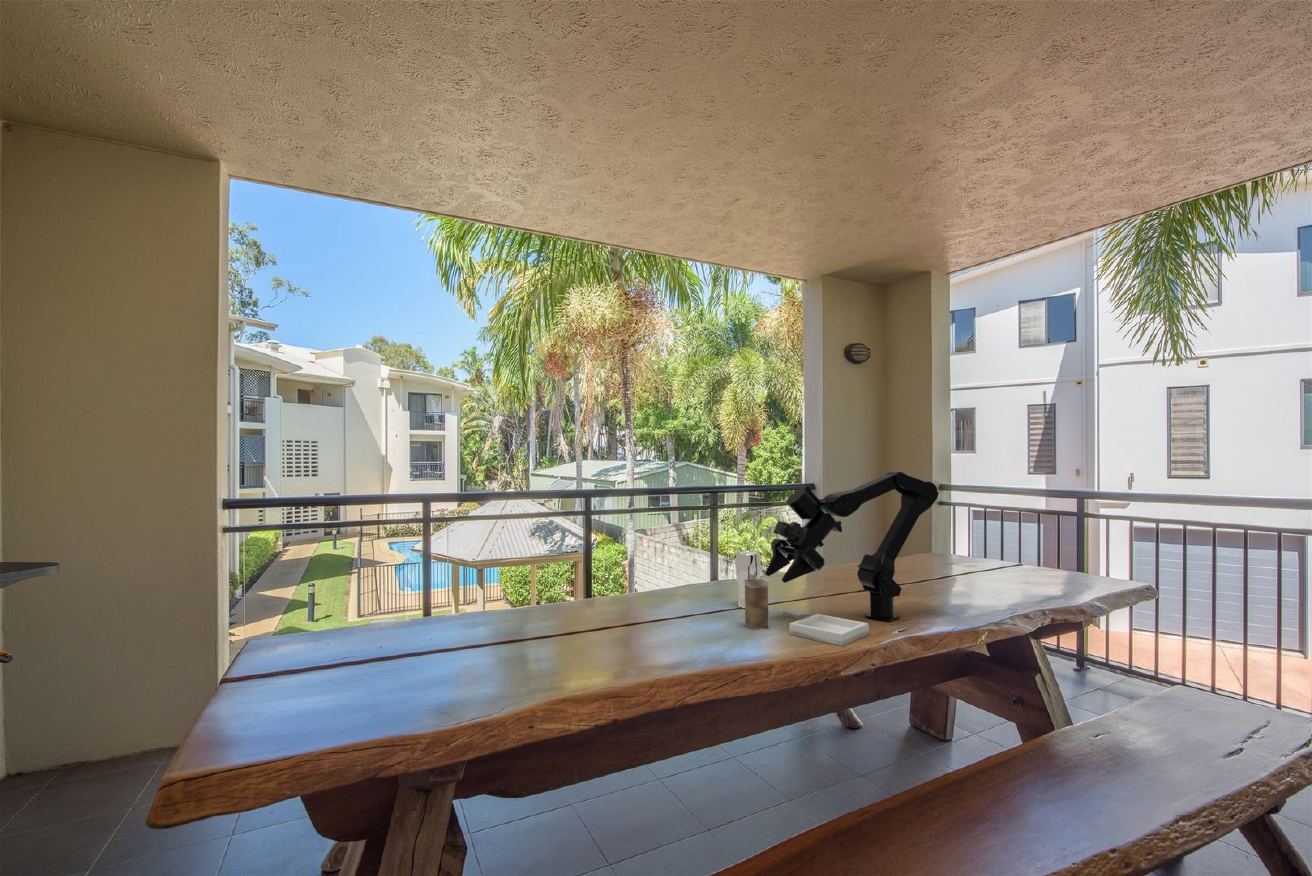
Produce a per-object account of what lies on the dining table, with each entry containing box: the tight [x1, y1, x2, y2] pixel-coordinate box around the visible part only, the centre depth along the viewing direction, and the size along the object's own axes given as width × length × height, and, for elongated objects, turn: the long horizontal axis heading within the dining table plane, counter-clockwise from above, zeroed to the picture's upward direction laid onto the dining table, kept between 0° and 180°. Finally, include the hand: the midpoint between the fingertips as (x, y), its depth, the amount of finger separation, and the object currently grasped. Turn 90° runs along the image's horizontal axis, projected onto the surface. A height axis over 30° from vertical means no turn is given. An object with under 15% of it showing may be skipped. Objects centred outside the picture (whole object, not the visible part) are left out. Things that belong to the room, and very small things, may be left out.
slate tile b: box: [782, 609, 812, 619], centre depth 151 cm, size 5×5×1 cm
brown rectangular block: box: [744, 578, 769, 630], centre depth 140 cm, size 4×4×11 cm
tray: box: [788, 613, 870, 647], centre depth 133 cm, size 13×13×2 cm
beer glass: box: [735, 550, 762, 609], centre depth 161 cm, size 7×7×15 cm
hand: (774, 578), depth 142 cm, fingers open, 9 cm apart
